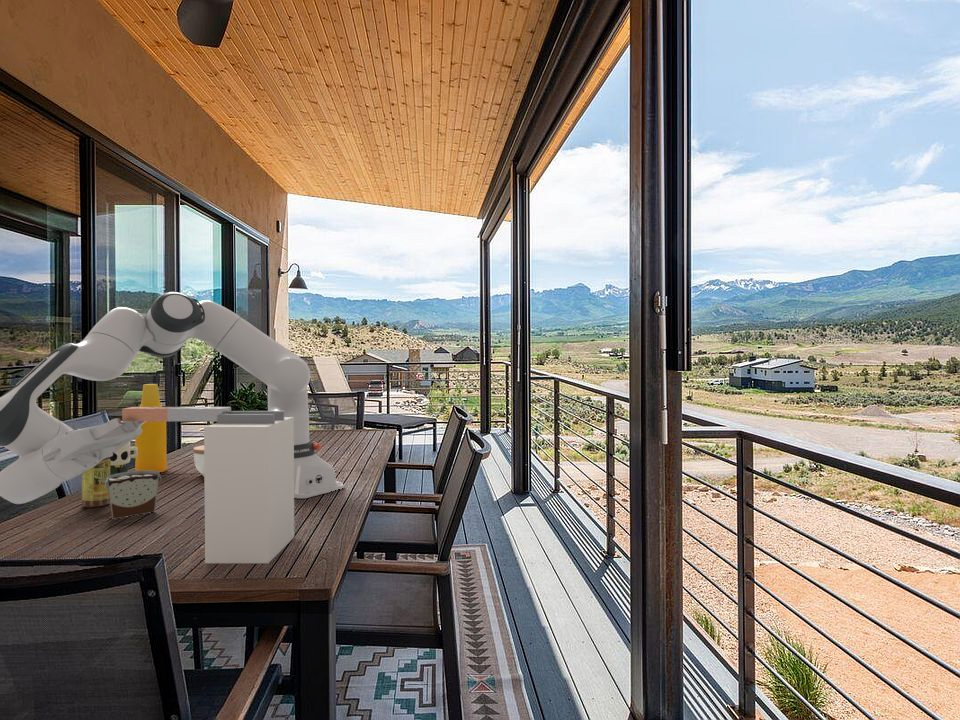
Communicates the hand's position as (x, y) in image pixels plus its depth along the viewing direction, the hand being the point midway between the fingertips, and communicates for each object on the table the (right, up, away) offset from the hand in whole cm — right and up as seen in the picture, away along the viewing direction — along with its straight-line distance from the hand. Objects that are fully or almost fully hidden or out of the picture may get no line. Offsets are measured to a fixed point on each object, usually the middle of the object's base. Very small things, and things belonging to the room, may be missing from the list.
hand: (133, 418), depth 122 cm
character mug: (-38, -26, +57) cm, 73 cm away
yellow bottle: (-39, -25, +78) cm, 91 cm away
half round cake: (-16, -26, +27) cm, 41 cm away
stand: (+24, -27, +1) cm, 36 cm away
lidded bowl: (-16, -25, +73) cm, 79 cm away
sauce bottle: (-30, -26, +35) cm, 53 cm away
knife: (+9, 0, 0) cm, 9 cm away
